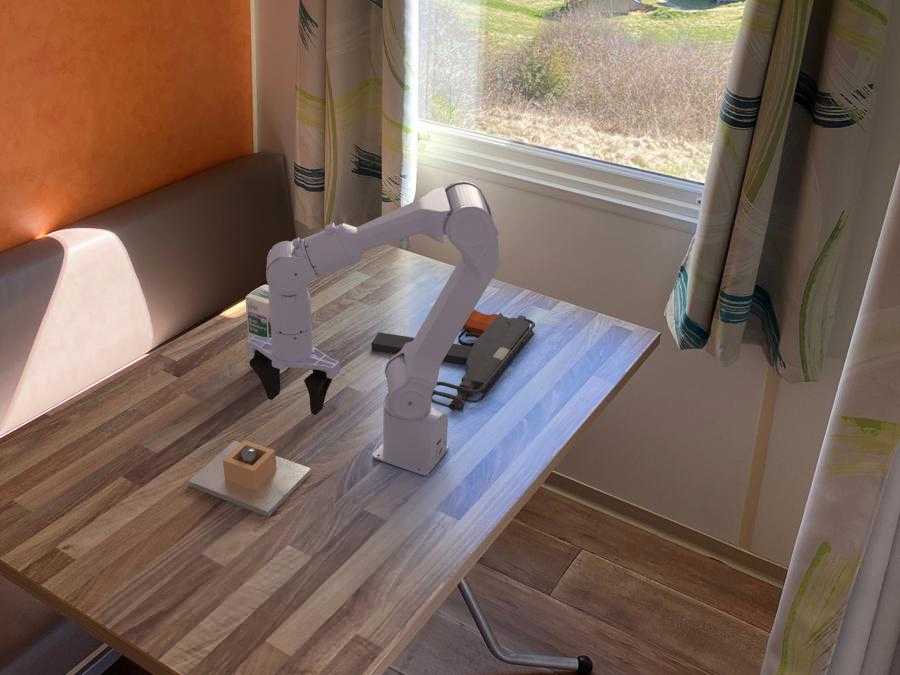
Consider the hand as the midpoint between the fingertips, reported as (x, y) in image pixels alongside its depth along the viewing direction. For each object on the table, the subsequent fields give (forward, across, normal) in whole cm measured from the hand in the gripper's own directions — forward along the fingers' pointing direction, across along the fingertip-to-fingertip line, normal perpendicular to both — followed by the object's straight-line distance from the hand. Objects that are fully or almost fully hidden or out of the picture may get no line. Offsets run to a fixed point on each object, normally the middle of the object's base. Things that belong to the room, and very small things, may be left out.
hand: (295, 403), depth 145 cm
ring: (+9, -3, -8) cm, 12 cm away
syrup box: (+10, -18, +19) cm, 28 cm away
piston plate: (+10, -3, -8) cm, 13 cm away
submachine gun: (+11, +6, +38) cm, 40 cm away
